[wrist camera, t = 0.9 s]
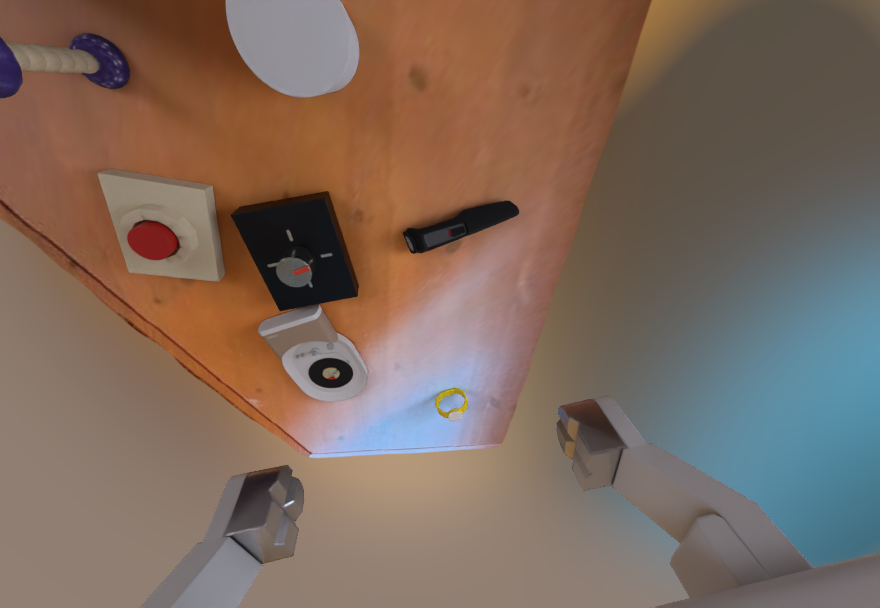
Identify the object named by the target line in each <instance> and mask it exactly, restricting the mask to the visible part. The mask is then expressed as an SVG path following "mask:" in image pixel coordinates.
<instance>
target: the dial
mask: <svg viewBox="0 0 880 608" xmlns="http://www.w3.org/2000/svg"><path fill="white" fill-rule="evenodd" d="M316 263H317V261H316V257H315V255H314V254H313V252H312V251H311V250H309V249H308V248H306V247H303V246H292V247H290V248H288V249H287V250H286V251H285V253H284V254H283V256H282V258H281V259H280V261H279V263H278V265H277V267H276V273H277V276H278V277H279V279H280V280H281V281H282V282H283V283H285V284H286V285H288V286H292V287H302V286H304V285H306V284H308V283H309V282H310V280H311V278H312V275H313V272H314V270H315V267H316Z"/></svg>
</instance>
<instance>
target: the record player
mask: <svg viewBox="0 0 880 608" xmlns="http://www.w3.org/2000/svg"><path fill="white" fill-rule="evenodd" d="M258 332H259V334H260V335H261V336H262V337H263V339H264V340H265V341H266V342H267V343H268V345H269V346H270V347H271V348H272V350H273V351H274V352H275V353H276V355H277V356H278V357H279V358H280V359H282V363H283V366H284V368H285V370H286V371H287V373H288V374H289V375H290V376H291V378H292V379H293V380H294V381H295V383H296V384H297V385H298V386H299V387H300V388H301V390H302V391H303V392H304V393H306V394H307V395H308V396H310V397H312V398H315V399H318V400H322V401H329V402H335V401H343V400H347V399H350V398H352V397H354V396H356V395H358V394H359V393H360V392H361V391H362V390H363V389H364V388H365V386H366V384H367V377H368V371H367V367H366V365H365V363H364V361H363V360H362V358H361V356H360V355H359V353H358V351H357V350H356V348H355V347H354V345H353V344H352V342H351V341H350V340H349V339H347V338H346V337H344V336H343V335H341V334H339V333H336V331H335V329H334V328H333V326H332V325H331V323H330V321H329V320H328V318H327V317H326V315H325V313H324V312H323V310H322V309H321V307H320V305H319V304H315V305H310V306H306V307H303V308H300V309H297V310H294V311H290V312H287V313H284V314H281V315H278V316H275V317H272V318H269V319H266V320H264V321H263V322H262V323H261V324H260V326H259V328H258Z"/></svg>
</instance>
